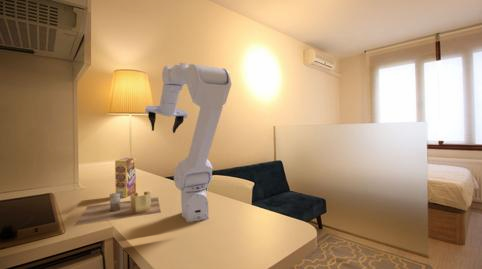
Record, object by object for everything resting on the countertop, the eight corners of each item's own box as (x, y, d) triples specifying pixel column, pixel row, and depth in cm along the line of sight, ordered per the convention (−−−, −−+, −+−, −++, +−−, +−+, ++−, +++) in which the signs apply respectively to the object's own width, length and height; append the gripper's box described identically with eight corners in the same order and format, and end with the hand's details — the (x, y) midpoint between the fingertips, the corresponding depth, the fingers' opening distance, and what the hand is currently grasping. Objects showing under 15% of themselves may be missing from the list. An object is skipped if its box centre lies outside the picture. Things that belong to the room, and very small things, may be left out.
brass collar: (151, 211, 73) (150, 195, 73) (130, 214, 71) (129, 197, 70) (151, 206, 78) (150, 190, 78) (131, 208, 76) (130, 193, 75)
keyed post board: (161, 217, 72) (160, 195, 72) (74, 230, 64) (73, 206, 63) (158, 201, 88) (157, 183, 87) (88, 210, 79) (87, 191, 79)
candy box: (127, 201, 88) (125, 160, 87) (115, 202, 88) (113, 160, 87) (137, 194, 97) (135, 157, 96) (126, 195, 97) (124, 157, 96)
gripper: (188, 97, 90) (181, 126, 97) (147, 90, 84) (143, 121, 91) (190, 107, 85) (183, 137, 92) (147, 100, 79) (142, 133, 86)
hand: (163, 130), depth 91 cm, fingers open, 7 cm apart
